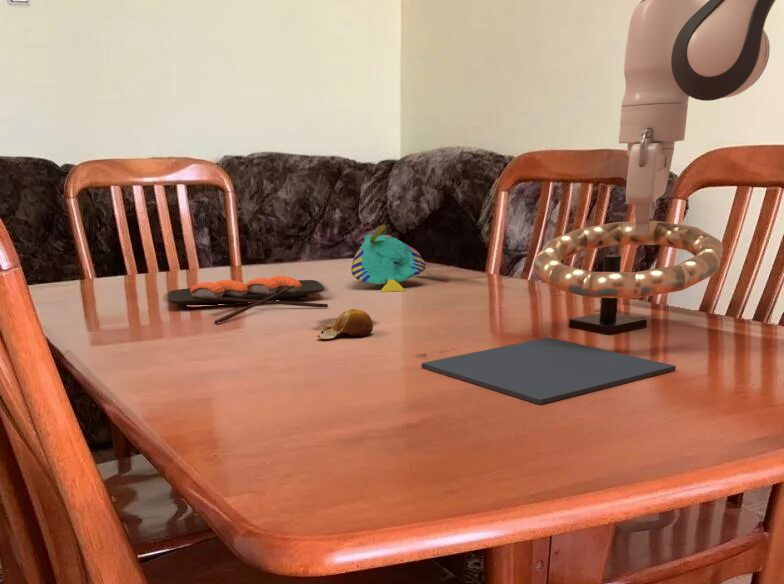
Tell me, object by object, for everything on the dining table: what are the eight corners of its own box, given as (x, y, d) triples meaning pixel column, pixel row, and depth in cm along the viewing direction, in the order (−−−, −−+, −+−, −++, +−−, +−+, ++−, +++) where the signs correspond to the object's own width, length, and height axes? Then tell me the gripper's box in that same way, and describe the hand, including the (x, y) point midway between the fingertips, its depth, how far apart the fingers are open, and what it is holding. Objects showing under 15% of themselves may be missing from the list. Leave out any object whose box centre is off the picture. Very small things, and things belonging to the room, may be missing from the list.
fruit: (322, 329, 130) (320, 306, 128) (375, 328, 129) (374, 304, 128) (316, 341, 122) (314, 316, 121) (371, 339, 122) (370, 314, 120)
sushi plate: (316, 288, 168) (315, 269, 166) (342, 314, 141) (340, 291, 139) (170, 299, 162) (167, 279, 161) (168, 328, 136) (164, 304, 134)
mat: (547, 341, 116) (548, 337, 116) (675, 370, 100) (676, 365, 99) (421, 367, 106) (421, 362, 106) (540, 405, 89) (540, 399, 89)
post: (605, 319, 128) (611, 250, 124) (646, 327, 122) (653, 255, 118) (568, 327, 125) (572, 256, 120) (608, 335, 119) (614, 261, 114)
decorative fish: (346, 209, 167) (419, 204, 168) (349, 262, 177) (419, 258, 178) (352, 266, 156) (431, 261, 156) (355, 320, 165) (429, 315, 166)
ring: (557, 241, 128) (557, 220, 126) (726, 240, 119) (729, 217, 117) (517, 300, 110) (516, 276, 108) (712, 303, 101) (715, 278, 99)
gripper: (669, 127, 105) (659, 241, 111) (681, 127, 122) (671, 226, 128) (619, 130, 108) (611, 241, 113) (637, 129, 125) (629, 226, 131)
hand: (643, 233), depth 121 cm, fingers closed on ring, 3 cm apart
